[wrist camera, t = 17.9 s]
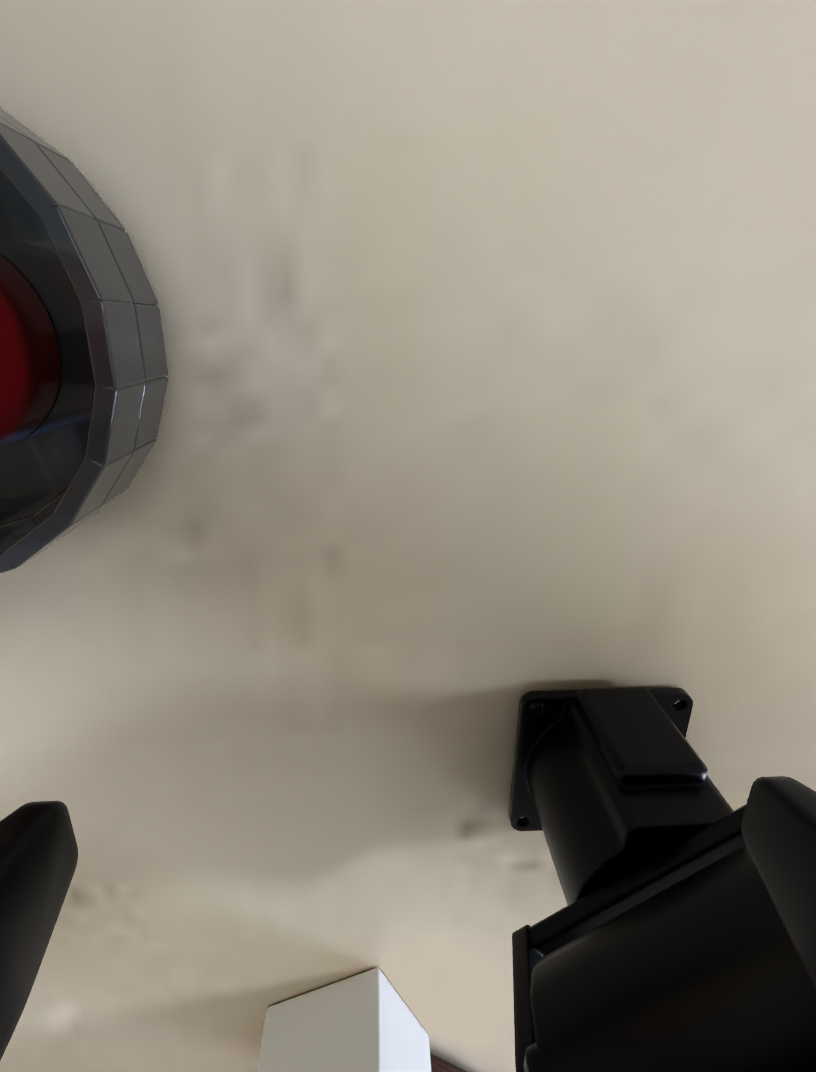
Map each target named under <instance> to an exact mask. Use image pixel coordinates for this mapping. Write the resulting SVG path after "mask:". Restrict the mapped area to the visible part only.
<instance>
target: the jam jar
mask: <svg viewBox="0 0 816 1072" xmlns="http://www.w3.org/2000/svg"><path fill="white" fill-rule="evenodd" d="M60 368H61V363H60V352H59V346H58V342H57V337H56V334H55V331H54V328H53V325H52V322H51V320H50V317H49V315H48V313H47V311H46V309H45V307H44V305H43V304H42V302H41V300H40V299H39V297H38V295H37V294H36V292H35V291H34V289H33V288H32V287H31V286H30V284H29V283H28V282H27V280H26V279H25V278H24V277H23V276H22V275H21V274H20V273H19V272H18V270H17V269H16V268H15V267H14V266H13V265H12V264H11V263H9V262H8V261H7V260H6V259H5V258H4V257H2V256H1V255H0V449H1V448H4V447H7V446H10V445H12V444H14V443H16V442H18V441H20V440H22V439H23V438H25V437H26V436H28V435H29V434H31V433H32V432H33V431H34V430H35V429H36V428H37V427H38V426H39V425H40V424H41V423H42V421H43V420H44V419H45V417H46V416H47V415H48V413H49V411H50V409H51V407H52V405H53V403H54V400H55V397H56V394H57V392H58V386H59V381H60Z"/></svg>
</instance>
